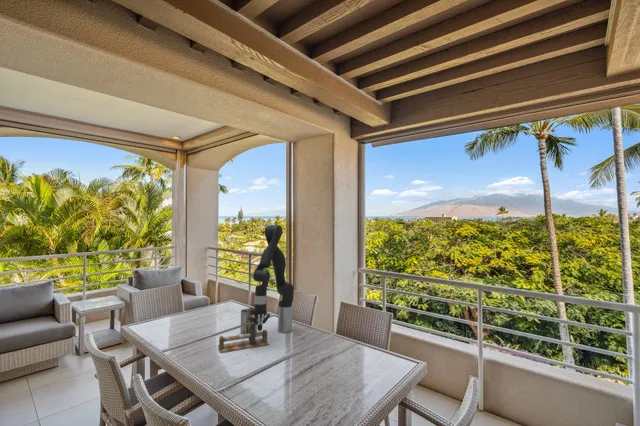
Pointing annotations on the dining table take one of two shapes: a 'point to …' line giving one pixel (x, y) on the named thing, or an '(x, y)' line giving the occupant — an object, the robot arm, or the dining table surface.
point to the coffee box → (247, 320)
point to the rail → (242, 342)
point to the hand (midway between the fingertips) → (259, 330)
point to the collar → (252, 333)
